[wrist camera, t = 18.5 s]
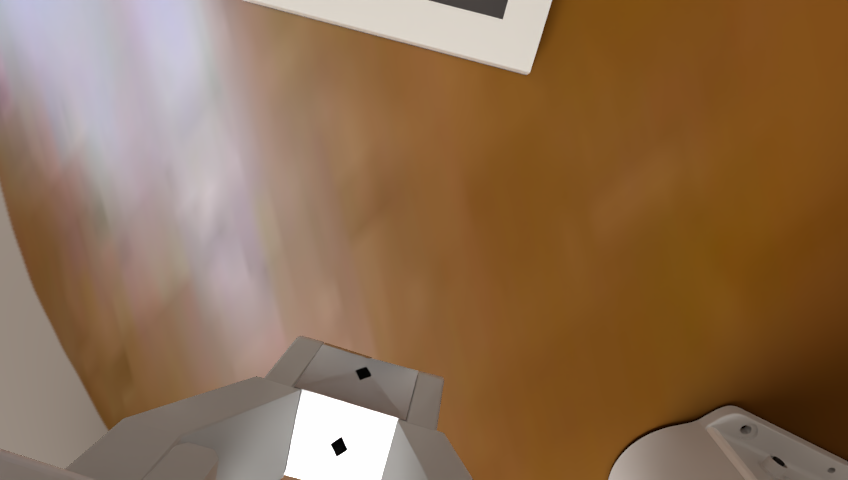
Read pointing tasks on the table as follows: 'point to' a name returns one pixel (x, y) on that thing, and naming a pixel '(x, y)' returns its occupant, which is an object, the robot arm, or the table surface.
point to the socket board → (440, 25)
